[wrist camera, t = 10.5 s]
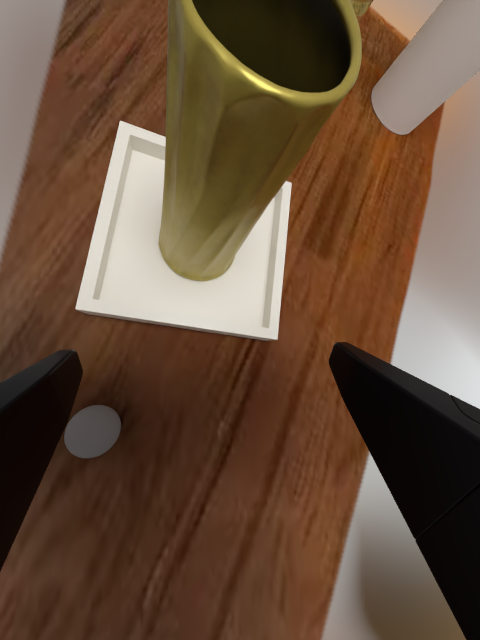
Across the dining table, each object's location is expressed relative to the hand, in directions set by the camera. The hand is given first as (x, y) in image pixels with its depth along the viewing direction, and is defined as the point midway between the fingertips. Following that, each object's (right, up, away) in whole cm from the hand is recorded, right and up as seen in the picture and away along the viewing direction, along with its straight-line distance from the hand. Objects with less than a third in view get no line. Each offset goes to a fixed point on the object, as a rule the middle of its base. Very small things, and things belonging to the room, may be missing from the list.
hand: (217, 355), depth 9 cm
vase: (-3, +7, +11) cm, 14 cm away
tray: (-3, +7, +12) cm, 14 cm away
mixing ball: (-8, -6, +6) cm, 12 cm away
